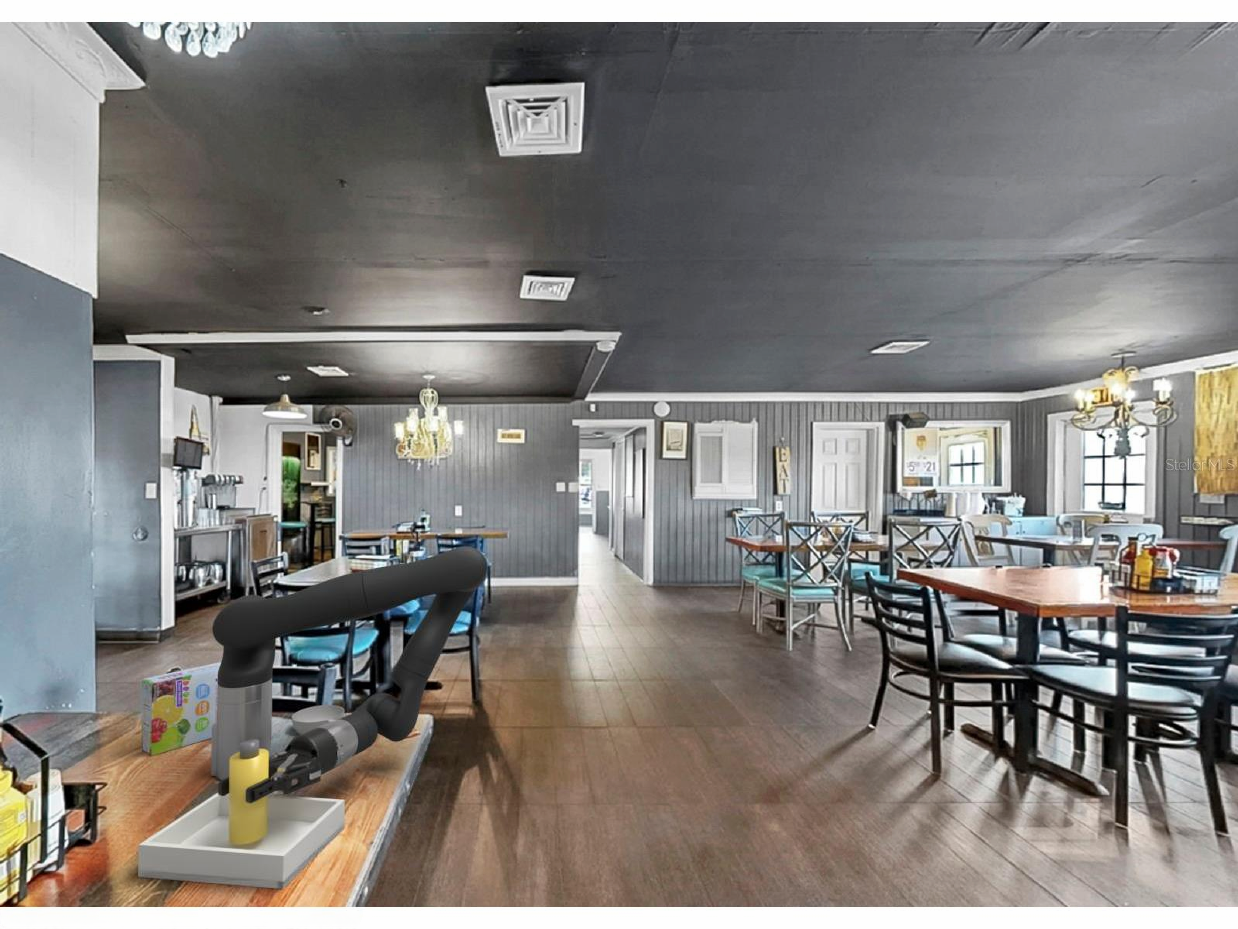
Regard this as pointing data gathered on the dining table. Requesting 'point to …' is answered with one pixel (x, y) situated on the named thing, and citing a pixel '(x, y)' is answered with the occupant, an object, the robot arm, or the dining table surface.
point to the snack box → (179, 708)
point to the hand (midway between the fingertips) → (233, 793)
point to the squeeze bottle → (244, 772)
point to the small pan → (315, 717)
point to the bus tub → (269, 862)
